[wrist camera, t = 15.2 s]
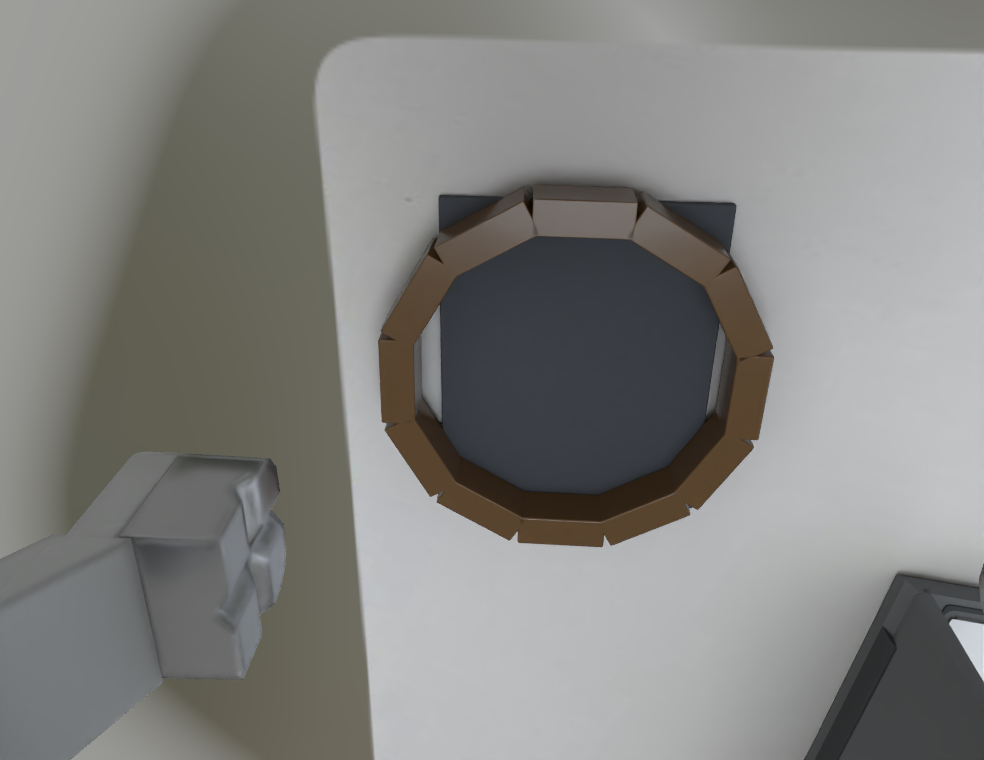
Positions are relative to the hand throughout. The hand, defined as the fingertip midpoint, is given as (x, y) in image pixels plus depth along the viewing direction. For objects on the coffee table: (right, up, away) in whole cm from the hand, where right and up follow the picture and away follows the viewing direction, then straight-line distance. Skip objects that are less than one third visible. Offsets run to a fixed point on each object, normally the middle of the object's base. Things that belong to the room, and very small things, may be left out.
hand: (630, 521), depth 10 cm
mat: (+2, +2, +31) cm, 31 cm away
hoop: (+2, +2, +31) cm, 31 cm away
